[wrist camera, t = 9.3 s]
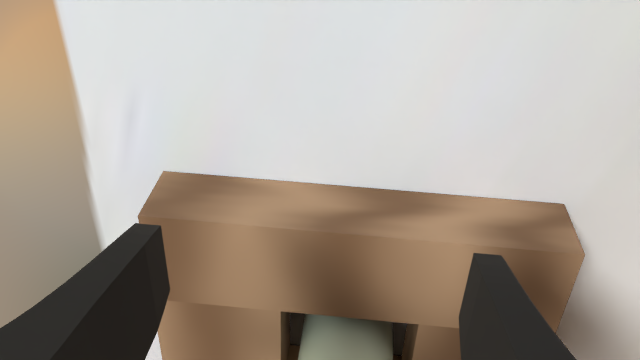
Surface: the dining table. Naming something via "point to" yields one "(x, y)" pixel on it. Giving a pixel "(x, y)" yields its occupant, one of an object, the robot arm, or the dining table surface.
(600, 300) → the dining table surface
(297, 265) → the peg board
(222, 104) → the dining table surface
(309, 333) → the peg
